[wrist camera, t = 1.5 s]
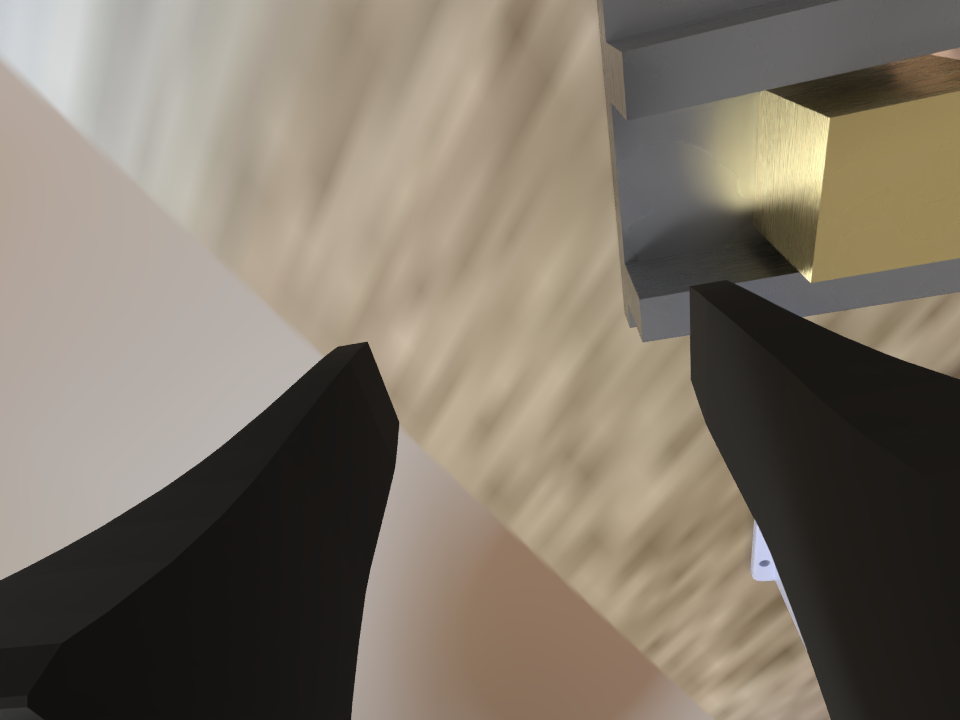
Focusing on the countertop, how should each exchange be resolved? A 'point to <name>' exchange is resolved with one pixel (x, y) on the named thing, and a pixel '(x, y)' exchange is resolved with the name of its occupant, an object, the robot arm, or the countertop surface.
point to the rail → (736, 141)
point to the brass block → (862, 169)
